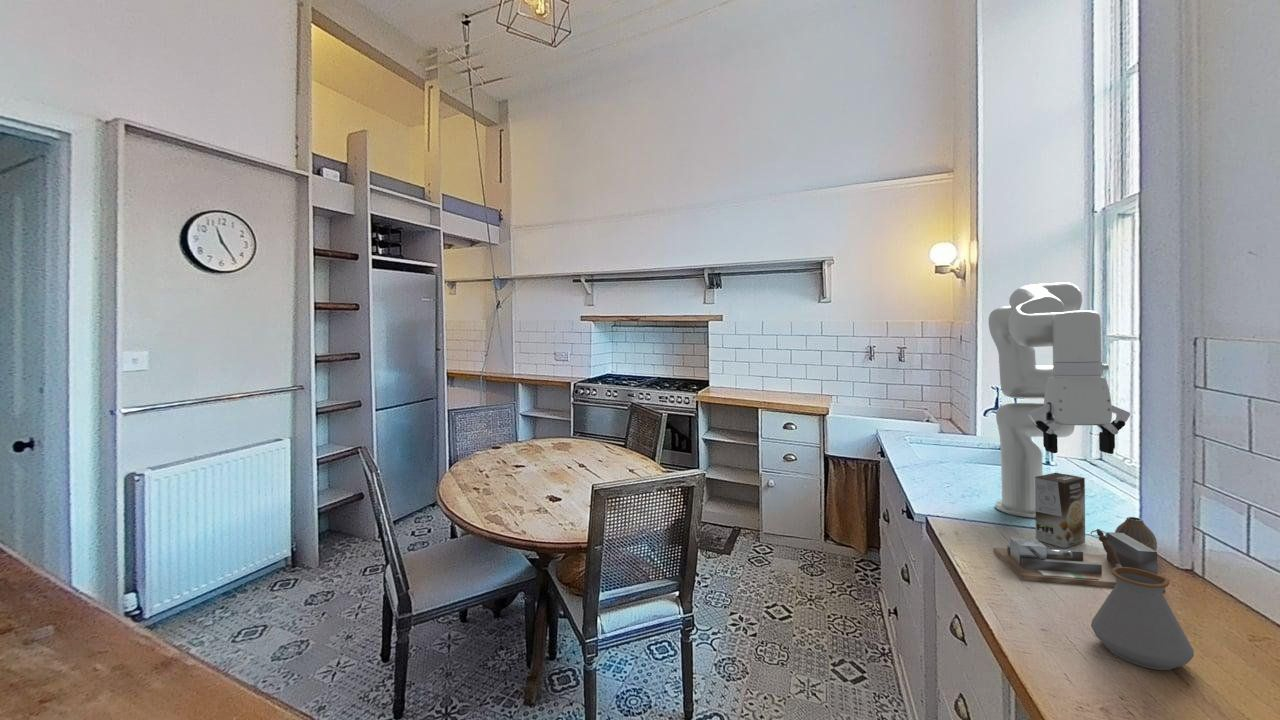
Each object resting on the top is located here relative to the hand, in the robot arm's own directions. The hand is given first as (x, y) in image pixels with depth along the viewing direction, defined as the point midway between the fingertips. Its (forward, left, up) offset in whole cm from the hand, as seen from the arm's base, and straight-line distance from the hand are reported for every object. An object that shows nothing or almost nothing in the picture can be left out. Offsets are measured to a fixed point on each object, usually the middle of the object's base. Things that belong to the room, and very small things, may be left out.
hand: (1078, 452), depth 101 cm
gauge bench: (-4, +1, -27) cm, 27 cm away
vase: (-14, +18, -27) cm, 35 cm away
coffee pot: (+22, -4, -27) cm, 35 cm away
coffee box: (-21, +7, -27) cm, 35 cm away
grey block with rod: (-2, -5, -26) cm, 26 cm away
